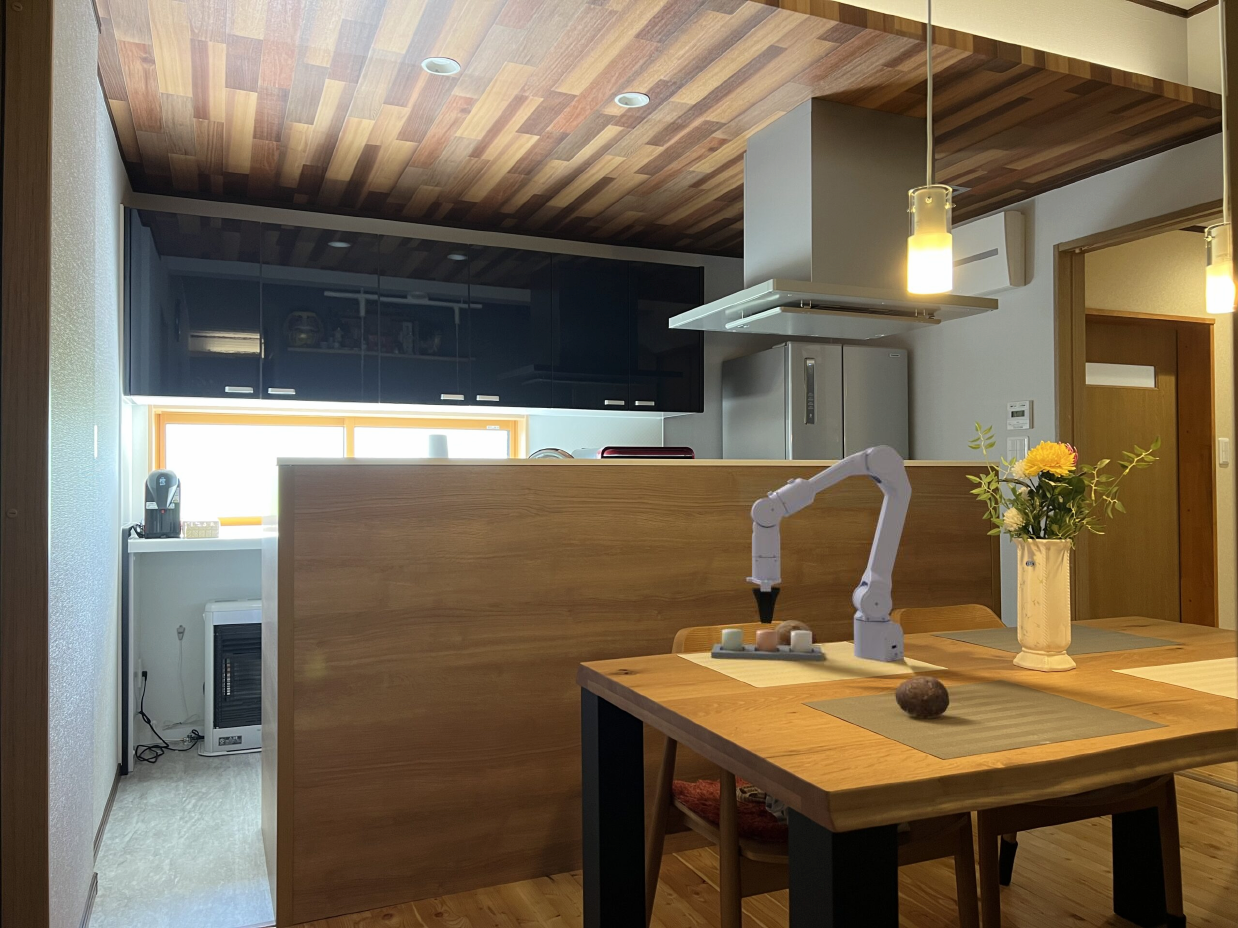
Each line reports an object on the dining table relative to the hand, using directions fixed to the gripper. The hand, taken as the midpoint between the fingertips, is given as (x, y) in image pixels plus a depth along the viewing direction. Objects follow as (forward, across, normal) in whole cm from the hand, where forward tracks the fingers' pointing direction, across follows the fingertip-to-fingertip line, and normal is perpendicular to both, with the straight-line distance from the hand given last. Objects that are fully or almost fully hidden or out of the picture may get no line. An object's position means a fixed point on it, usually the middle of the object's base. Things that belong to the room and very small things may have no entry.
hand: (766, 623), depth 193 cm
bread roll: (+8, -18, +6) cm, 20 cm away
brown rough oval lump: (+8, +41, +25) cm, 49 cm away
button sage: (+6, 0, -7) cm, 9 cm away
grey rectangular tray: (+8, 0, 0) cm, 8 cm away
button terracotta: (+6, 0, 0) cm, 7 cm away
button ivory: (+6, 0, +7) cm, 10 cm away
